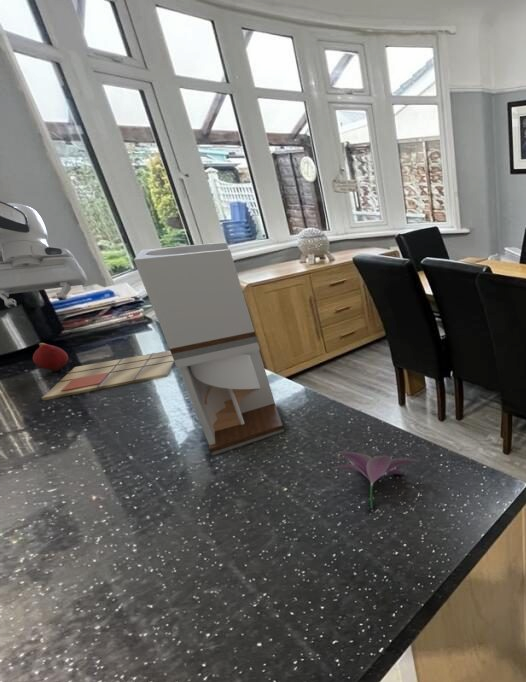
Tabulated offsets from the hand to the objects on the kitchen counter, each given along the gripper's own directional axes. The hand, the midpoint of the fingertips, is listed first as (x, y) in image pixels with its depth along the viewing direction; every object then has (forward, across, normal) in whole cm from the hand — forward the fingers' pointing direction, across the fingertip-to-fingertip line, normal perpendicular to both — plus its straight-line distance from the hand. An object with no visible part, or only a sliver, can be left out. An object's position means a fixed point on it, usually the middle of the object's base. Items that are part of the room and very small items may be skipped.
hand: (37, 302), depth 105 cm
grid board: (+29, +15, -9) cm, 34 cm away
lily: (+83, +53, -70) cm, 121 cm away
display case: (+62, +38, -46) cm, 86 cm away
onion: (+20, +1, +2) cm, 20 cm away
